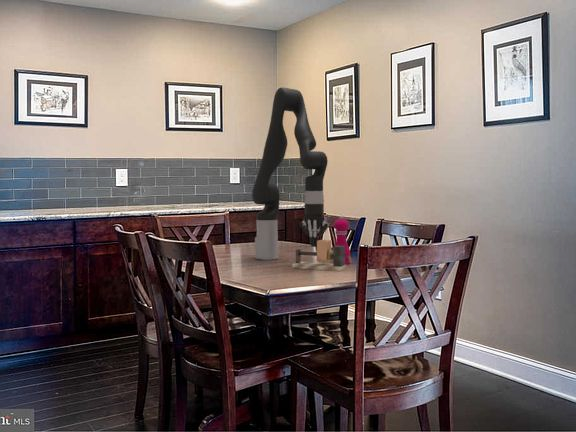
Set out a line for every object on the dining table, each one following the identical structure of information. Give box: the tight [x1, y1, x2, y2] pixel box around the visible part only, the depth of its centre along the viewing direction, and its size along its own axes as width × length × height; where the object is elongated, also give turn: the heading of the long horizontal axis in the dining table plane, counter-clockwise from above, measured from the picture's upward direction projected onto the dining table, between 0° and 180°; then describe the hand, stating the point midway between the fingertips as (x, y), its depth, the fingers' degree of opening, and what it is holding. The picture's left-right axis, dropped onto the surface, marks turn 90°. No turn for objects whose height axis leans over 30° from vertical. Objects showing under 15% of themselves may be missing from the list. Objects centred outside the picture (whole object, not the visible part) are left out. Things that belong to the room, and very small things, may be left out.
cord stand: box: [291, 245, 347, 272], centre depth 222 cm, size 20×7×9 cm, turn 62°
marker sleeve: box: [316, 239, 332, 262], centre depth 221 cm, size 4×5×8 cm
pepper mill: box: [333, 214, 351, 265], centre depth 234 cm, size 7×7×20 cm
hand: (314, 246), depth 223 cm, fingers closed
